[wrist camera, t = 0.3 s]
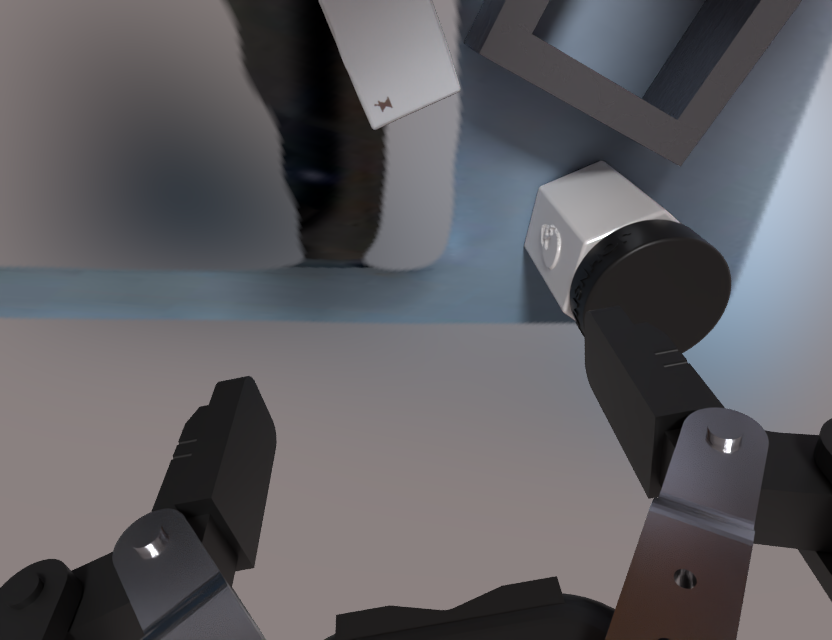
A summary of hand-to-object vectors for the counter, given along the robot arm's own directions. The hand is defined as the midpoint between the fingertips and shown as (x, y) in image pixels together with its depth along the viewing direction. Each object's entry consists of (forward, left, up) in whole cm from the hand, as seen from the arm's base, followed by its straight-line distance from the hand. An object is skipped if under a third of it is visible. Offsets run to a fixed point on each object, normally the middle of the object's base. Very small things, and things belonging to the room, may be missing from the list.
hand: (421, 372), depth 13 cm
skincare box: (-5, -3, -26) cm, 27 cm away
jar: (0, +16, -26) cm, 30 cm away
